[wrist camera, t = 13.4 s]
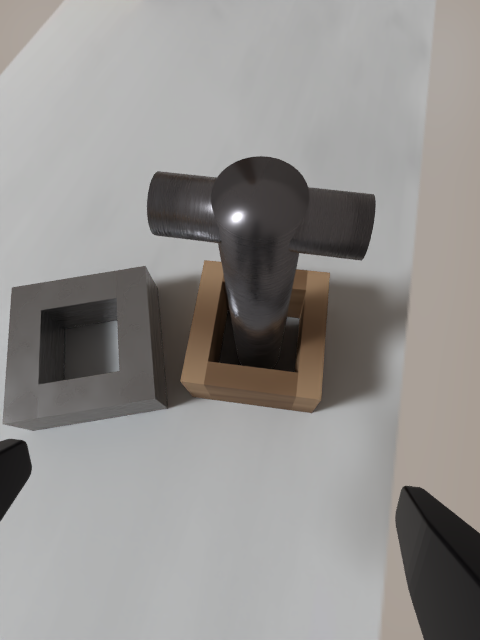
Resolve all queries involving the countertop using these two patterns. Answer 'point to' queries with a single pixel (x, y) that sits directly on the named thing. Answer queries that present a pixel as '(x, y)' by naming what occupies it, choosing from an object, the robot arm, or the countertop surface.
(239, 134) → the countertop surface
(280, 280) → the chuck key
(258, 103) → the countertop surface
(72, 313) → the block
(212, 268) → the wooden square frame
